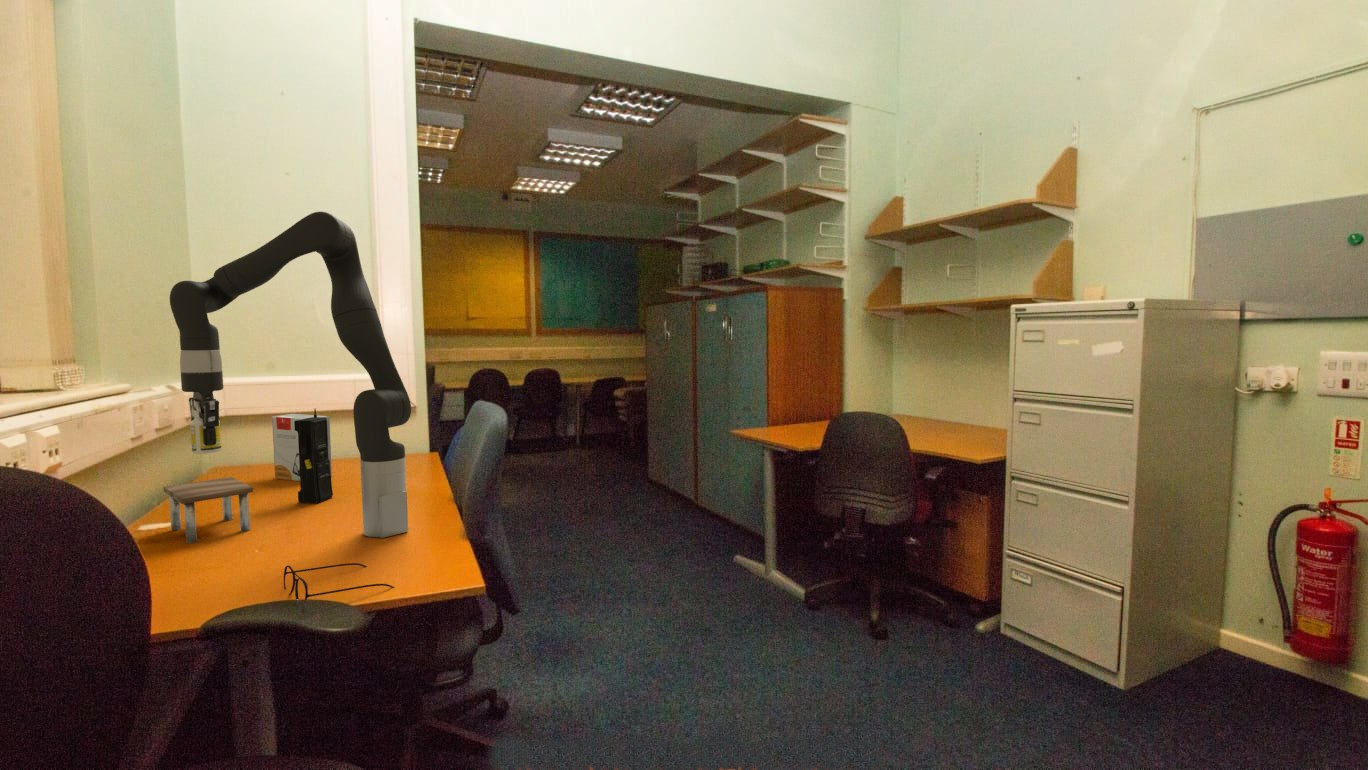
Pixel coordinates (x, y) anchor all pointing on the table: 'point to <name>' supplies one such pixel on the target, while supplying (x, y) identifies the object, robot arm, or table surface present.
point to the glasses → (323, 592)
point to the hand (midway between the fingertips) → (206, 443)
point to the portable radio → (313, 460)
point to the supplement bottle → (197, 437)
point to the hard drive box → (290, 446)
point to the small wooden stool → (206, 492)
